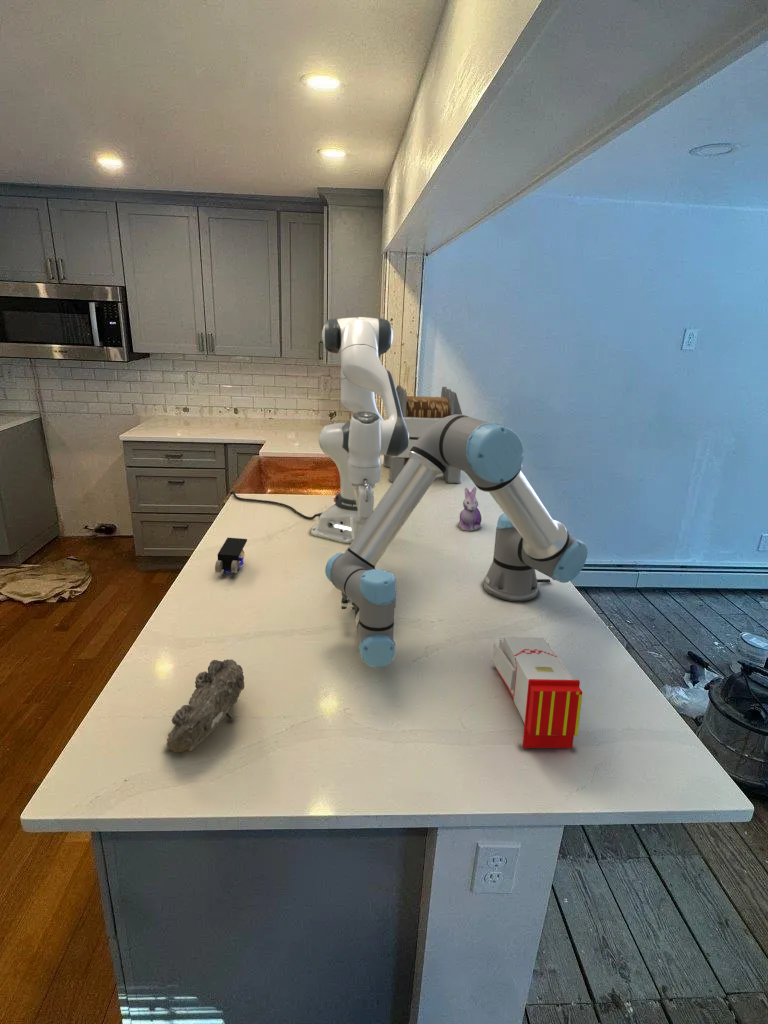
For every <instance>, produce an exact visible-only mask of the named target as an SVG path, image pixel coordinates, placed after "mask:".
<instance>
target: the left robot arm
mask: <svg viewBox="0 0 768 1024" xmlns="http://www.w3.org/2000/svg"><path fill="white" fill-rule="evenodd" d="M321 340H322V344H323V346H324V348H325V350H326V351H327V352H329V353H331V354H335V355H337V354H340V374H339V377H340V378H339V379H340V381H339V382H340V403H341V405H342V407H343V408H344V409H345V410H347V411H349V412H350V413H353V414H352V415H351V417H350V419H349V420H348V421H346V422H335V423H330V424H325V425H323V427H322V428H321V430H320V432H319V435H318V445H319V447H320V449H321V451H322V452H323V453H324V454H325V455H326V456H328V457H329V458H330V459H331V460H332V462H334V464H335V466H336V467H337V470H338V474H339V483H340V484H339V485H340V488H339V489H340V490H339V491H338V492H337V494H336V495H335V496H334V497H333V502H334V504H333V505H331V506H329V507H328V508H326V509H325V510H323V512H319V513H315V514H314V515H312V516H306V515H304V514H303V513H302V512H299V511H298V510H296V509H295V508H294V507H292V506H290V505H289V504H286V503H283V502H278V501H273V500H265V499H256V498H246V497H245V498H244V497H239V496H238V495H237V494H236V492H235V491H234V490H232V491H230V493H229V495H233V497H234V498H235V499H236V500H239V501H244V502H256V503H264V504H272V505H277V506H280V507H281V506H282V507H285V508H288V509H290V510H291V511H292V512H293V513H295V514H297V515H298V516H300V517H301V518H304V519H305V520H315V518H316V517H318V521H317V523H315V524H314V525H313V526H312V528H311V530H310V533H311V536H315V537H319V538H323V539H326V540H330V541H336V542H339V543H343V544H351V541H352V540H354V538H355V519H360V525H358V533H359V531H360V530H361V528H362V527H363V525H364V524H365V522H366V521H367V519H368V518H369V517H370V515H371V514H372V512H373V511H374V509H375V496H374V489H375V488H376V485H377V484H378V483H380V482H381V473H382V472H381V471H382V459H381V456H384V455H388V456H399V455H400V454H402V453H403V452H404V451H405V450H406V449H407V448H408V443H409V433H408V430H407V426H406V424H405V421H404V418H403V415H402V411H401V407H400V403H399V399H398V395H397V391H396V388H397V386H396V384H395V380H394V378H393V375H392V373H391V371H390V370H388V369H387V368H385V367H384V365H383V363H382V362H381V360H380V358H381V356H382V355H384V354H387V352H388V351H389V350H390V349H391V346H392V344H393V341H394V330H393V328H392V325H391V322H390V321H389V320H388V319H386V318H381V317H378V318H376V317H375V318H374V317H368V316H357V317H342V318H341V317H340V318H337V317H333V318H329V319H327V320H326V321H325V322H324V325H323V328H322V330H321ZM375 394H376V395H377V396H378V397H380V399H381V400H382V403H383V406H384V412H385V416H386V415H387V420H386V419H384V418H383V417H382V415H381V414H380V412H379V410H378V406H377V403H376V395H375Z"/></svg>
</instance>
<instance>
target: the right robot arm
mask: <svg viewBox="0 0 768 1024" xmlns="http://www.w3.org/2000/svg"><path fill="white" fill-rule="evenodd" d="M523 453H525V448H524V444H523V442H522V440H521V437H520V436H519V435H518V433H516V432H515V431H514V430H512V429H511V428H509V427H507V426H505V425H502V424H500V423H497V422H491V421H485V420H482V419H479V418H475V417H473V416H469V415H465V414H462V415H459V414H457V415H450V416H447V417H444V418H442V419H440V420H439V421H437V422H436V423H434V424H433V425H432V426H431V427H429V428H428V429H427V430H426V431H425V432H424V433H423V434H422V435H421V436H420V438H419V439H418V440H417V441H416V443H415V444H414V445H413V447H412V448H411V450H410V451H409V453H408V454H409V460H408V462H407V463H406V464H405V465H404V467H403V469H402V470H401V472H400V473H399V475H398V476H397V477H396V479H395V480H394V482H391V485H390V486H389V487H388V489H387V491H386V492H385V493H384V495H383V496H382V498H381V499H380V500H379V502H378V503H377V504H376V506H375V507H374V510H373V512H372V514H371V515H370V517H369V518H368V520H367V521H366V522H365V524H364V525H363V527H362V528H361V530H360V531H359V533H358V534H357V536H356V537H355V538H354V540H353V541H352V543H349V546H348V547H347V549H345V551H344V552H338V553H335V554H334V555H332V556H331V557H329V559H328V560H327V561H326V564H325V568H324V569H325V570H324V572H325V576H326V577H327V579H328V580H329V582H331V584H332V585H333V586H334V588H335V589H337V590H339V591H340V593H341V601H340V602H341V603H340V604H341V605H340V606H341V607H340V609H341V610H346V609H347V608H351V610H352V611H354V612H353V613H354V617H355V627H356V633H357V640H358V652H359V654H360V658H361V660H362V661H363V663H364V664H365V665H367V666H368V667H370V668H383V667H386V666H388V665H389V664H390V663H392V662H393V660H394V659H395V657H396V642H395V640H394V632H395V610H396V607H397V606H396V605H397V589H396V588H397V586H396V585H397V583H396V581H397V580H396V577H395V576H394V574H393V573H391V572H390V571H388V570H384V569H381V568H380V569H379V568H376V565H377V564H378V562H379V561H380V559H382V557H383V555H384V554H385V552H386V551H387V549H388V548H389V547H390V545H391V543H392V542H393V541H394V539H395V538H396V536H397V535H398V533H399V532H400V530H402V528H403V526H404V525H405V523H406V522H407V520H408V519H409V517H410V516H411V515H412V513H413V512H414V511H415V510H416V508H417V506H418V505H419V503H420V502H421V500H422V499H423V497H424V496H425V495H426V493H427V492H428V490H429V489H430V488H431V486H432V484H433V483H434V481H435V480H436V478H440V477H444V476H443V475H444V473H445V472H446V470H447V469H448V468H449V467H451V466H453V467H455V468H458V469H460V470H461V471H462V472H464V473H465V474H466V475H467V476H468V478H469V479H470V480H471V481H472V483H473V484H474V485H475V487H476V489H478V490H480V491H482V492H485V493H489V494H490V496H491V497H492V498H493V500H494V501H495V503H496V504H497V505H498V507H499V508H500V510H501V511H502V512H503V513H502V514H500V515H499V516H498V519H497V524H496V528H495V537H494V538H495V539H494V549H493V556H492V557H493V558H492V563H491V564H490V567H489V569H488V570H487V573H486V574H485V577H484V579H483V588H484V590H485V591H486V592H487V593H488V594H490V595H491V596H493V597H494V598H497V599H500V600H504V601H509V602H527V601H531V600H533V599H534V598H536V597H537V596H538V594H539V593H538V592H539V583H547V584H549V583H551V579H552V581H557V582H559V583H562V584H565V583H566V584H567V583H568V582H571V581H573V580H574V579H575V578H577V576H578V575H579V574H580V573H581V571H582V570H583V568H584V566H585V564H586V561H587V559H588V547H587V545H586V543H585V542H583V541H582V540H581V539H576V538H575V537H573V536H572V535H571V534H570V533H569V531H568V529H567V528H566V526H565V525H564V523H562V522H560V521H559V520H555V519H553V518H552V516H551V514H550V513H549V511H548V510H547V508H546V507H545V506H544V504H543V503H542V500H541V499H540V497H539V496H538V494H537V493H536V491H535V489H534V488H533V487H532V485H531V483H530V482H529V481H528V479H527V477H526V476H525V475H524V473H523V472H522V469H523V463H524V457H525V456H523ZM374 567H375V569H374ZM536 571H537V572H539V573H540V574H543V575H545V576H547V577H549V578H550V579H549V578H545V579H544V578H537V574H536Z"/></svg>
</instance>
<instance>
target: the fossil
mask: <svg viewBox="0 0 768 1024" xmlns="http://www.w3.org/2000/svg"><path fill="white" fill-rule="evenodd" d="M243 670H244V669H243V667H242V665H240V664H237V662H236V661H235V660H234V659H232V658H231V659H227V658H226V659H224V660H223V661H222V660H217V659H212V660H211V661H210V663H209V665H208V666H207V671H201V672H199V673H198V674H197V675H196V676H195V680H194V684H195V685H194V687H195V689H194V690H193V693H192V694H191V697H190V698H189V700H188V704H184V705H182V706H181V707H180V709H177V710H176V711H175V713H174V715H173V716H172V718H171V723H172V724H173V727H172V730H171V731H170V732H168V734H167V738H166V741H167V742H166V745H167V749H168V750H169V751H173V752H174V753H176V754H178V753H182V752H188V751H189V752H192V751H193V750H195V748H196V747H197V746H199V744H200V743H201V742H203V741H204V740H205V739H206V738H207V737H208V736H209V735H210V734H211V733H212V732H214V730H215V729H217V727H218V726H219V724H220V722H221V721H222V720H223V719H224V718H225V716H226V717H227V719H229V720H233V717H232V715H230V714H229V710H230V709H231V708H234V706H235V704H236V703H237V702H238V699H239V697H240V695H241V693H242V691H243V690H245V689H244V688H245V675H244V671H243Z"/></svg>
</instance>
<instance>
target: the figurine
mask: <svg viewBox="0 0 768 1024" xmlns="http://www.w3.org/2000/svg"><path fill="white" fill-rule="evenodd" d="M476 494H477V487H476V486H474V487H473V488H472V489H471V491H470V490H469V488H467V487H464V499H463V501H462V506H463V509H462V510H461V511H460V513H459V521H458V527H459V528H460V529H461V530H463V531H469V532H472V531H476V530H478V529H479V528H481V523H482V514H481V512H480V510H479V508H478V507H479V501H478V498H477V497H476Z"/></svg>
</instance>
